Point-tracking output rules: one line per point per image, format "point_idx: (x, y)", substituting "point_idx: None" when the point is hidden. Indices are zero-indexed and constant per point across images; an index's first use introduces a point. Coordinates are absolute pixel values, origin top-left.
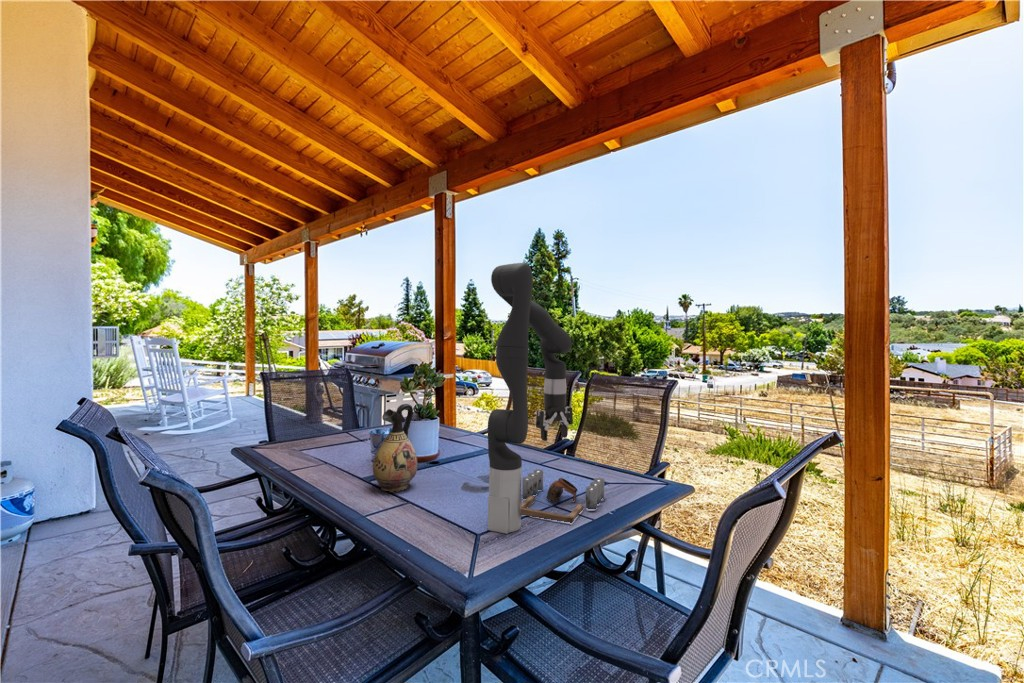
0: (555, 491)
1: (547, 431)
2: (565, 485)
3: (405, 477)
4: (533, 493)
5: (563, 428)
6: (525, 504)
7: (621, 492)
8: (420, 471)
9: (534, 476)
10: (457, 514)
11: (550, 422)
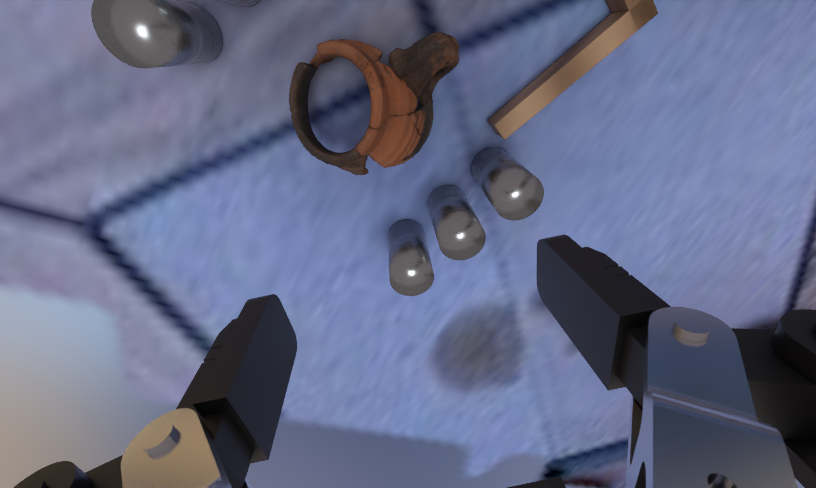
0: (446, 36)
1: (609, 301)
2: (372, 61)
3: None
4: (456, 189)
5: (257, 402)
6: (586, 46)
7: (38, 94)
8: (618, 434)
9: (468, 217)
10: (793, 108)
11: (714, 436)
